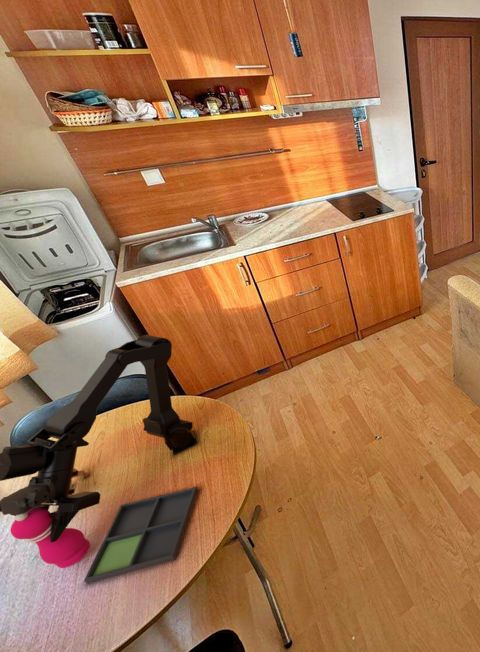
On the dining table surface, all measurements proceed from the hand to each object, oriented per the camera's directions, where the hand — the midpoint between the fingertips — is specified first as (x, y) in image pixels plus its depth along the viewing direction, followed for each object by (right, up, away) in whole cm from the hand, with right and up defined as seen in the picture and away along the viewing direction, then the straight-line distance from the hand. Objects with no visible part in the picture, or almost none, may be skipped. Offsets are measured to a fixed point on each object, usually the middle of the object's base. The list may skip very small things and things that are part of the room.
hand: (42, 541), depth 85 cm
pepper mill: (0, -8, +7) cm, 10 cm away
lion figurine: (-15, 0, +22) cm, 27 cm away
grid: (+13, -6, +13) cm, 19 cm away
